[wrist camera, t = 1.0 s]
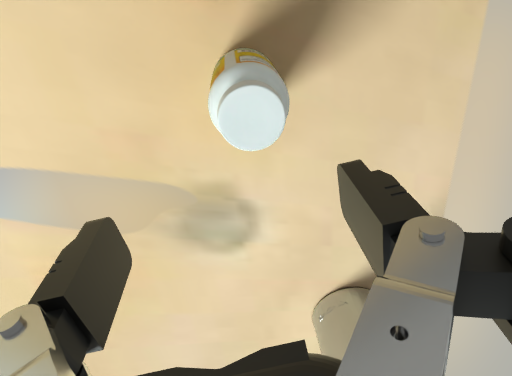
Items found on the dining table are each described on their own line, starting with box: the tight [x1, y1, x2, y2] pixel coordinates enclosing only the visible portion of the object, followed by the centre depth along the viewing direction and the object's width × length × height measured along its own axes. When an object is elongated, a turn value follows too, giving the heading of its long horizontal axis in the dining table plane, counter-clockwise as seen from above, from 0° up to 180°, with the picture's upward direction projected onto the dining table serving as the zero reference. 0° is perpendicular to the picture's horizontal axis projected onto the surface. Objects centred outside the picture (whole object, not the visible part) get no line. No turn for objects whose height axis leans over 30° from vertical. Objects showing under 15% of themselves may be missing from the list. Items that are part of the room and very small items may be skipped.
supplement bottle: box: [208, 48, 289, 151], centre depth 23 cm, size 5×5×10 cm
